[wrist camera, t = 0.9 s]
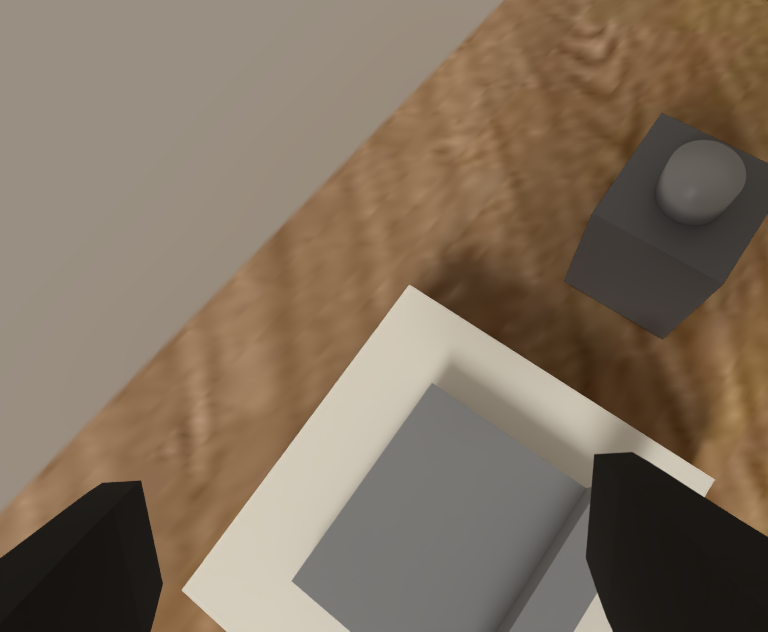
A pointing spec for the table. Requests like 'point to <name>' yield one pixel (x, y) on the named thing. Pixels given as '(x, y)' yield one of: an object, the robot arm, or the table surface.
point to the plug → (670, 226)
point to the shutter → (455, 534)
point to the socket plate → (370, 438)
